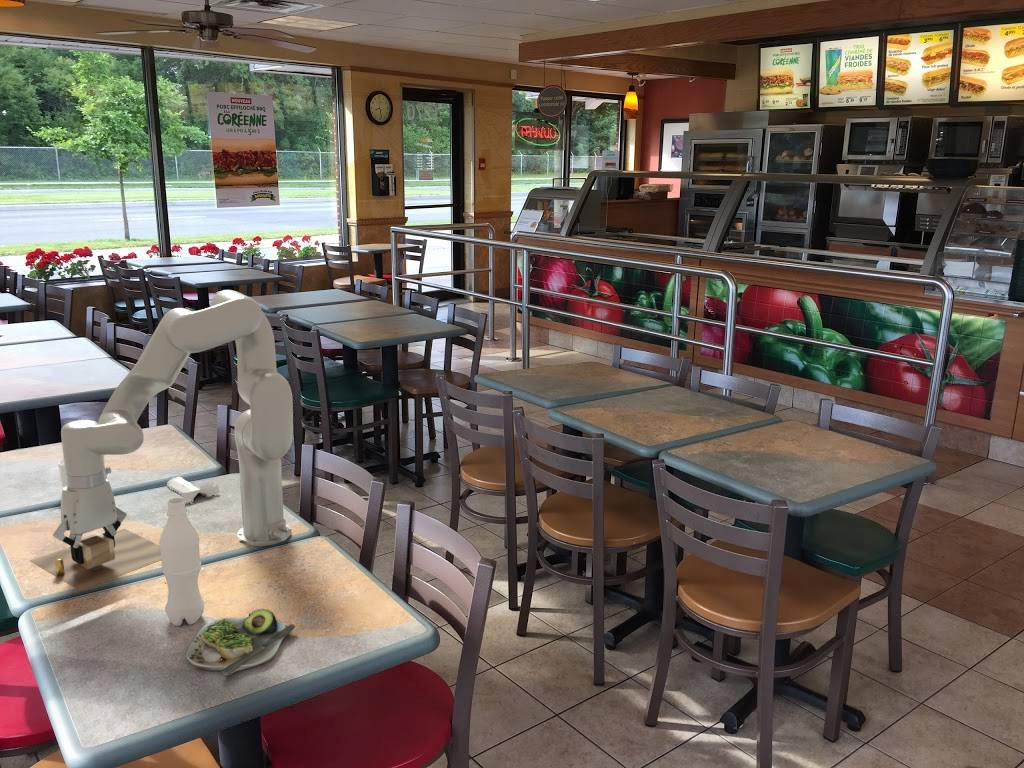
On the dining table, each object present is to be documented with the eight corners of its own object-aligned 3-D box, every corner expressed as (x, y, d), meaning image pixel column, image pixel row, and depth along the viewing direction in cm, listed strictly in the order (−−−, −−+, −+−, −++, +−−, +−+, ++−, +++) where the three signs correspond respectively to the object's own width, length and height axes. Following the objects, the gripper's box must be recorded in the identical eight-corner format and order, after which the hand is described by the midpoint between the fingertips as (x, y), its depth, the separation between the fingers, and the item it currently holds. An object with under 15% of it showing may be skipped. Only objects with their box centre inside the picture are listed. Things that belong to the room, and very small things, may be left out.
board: (177, 558, 190) (175, 533, 189) (80, 595, 173) (77, 568, 171) (125, 533, 203) (122, 509, 201) (30, 565, 185) (26, 539, 184)
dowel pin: (66, 574, 179) (64, 559, 179) (58, 576, 178) (56, 561, 177) (62, 572, 180) (60, 557, 179) (54, 574, 179) (53, 559, 178)
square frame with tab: (115, 559, 182) (113, 540, 181) (87, 568, 178) (85, 549, 176) (90, 545, 188) (88, 527, 187) (63, 555, 184) (61, 536, 182)
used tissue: (183, 507, 220) (182, 493, 219) (166, 486, 234) (164, 473, 233) (224, 499, 226) (223, 485, 225) (204, 479, 240) (203, 466, 239)
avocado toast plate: (271, 684, 145) (270, 661, 144) (168, 682, 145) (166, 658, 144) (300, 626, 164) (299, 604, 163) (209, 623, 164) (207, 602, 163)
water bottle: (164, 631, 161) (153, 509, 154) (168, 612, 167) (158, 495, 161) (203, 626, 162) (194, 506, 156) (206, 608, 169) (197, 492, 163)
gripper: (116, 464, 186) (123, 539, 190) (35, 485, 172) (44, 566, 177) (134, 471, 182) (141, 548, 186) (53, 494, 168) (62, 576, 172)
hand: (94, 556), depth 181 cm, fingers closed on square frame with tab, 6 cm apart
